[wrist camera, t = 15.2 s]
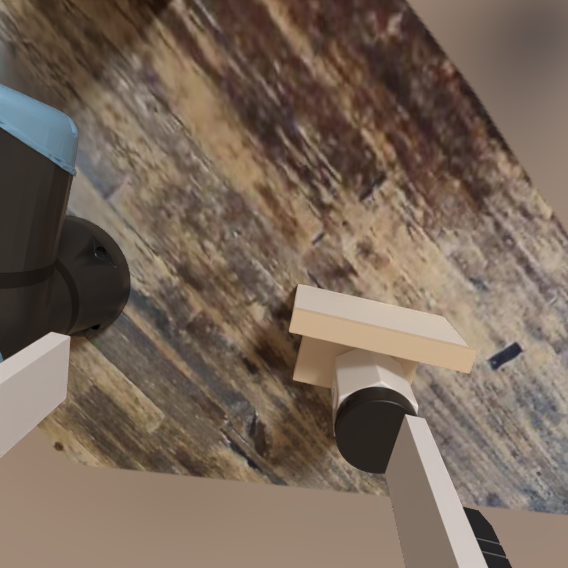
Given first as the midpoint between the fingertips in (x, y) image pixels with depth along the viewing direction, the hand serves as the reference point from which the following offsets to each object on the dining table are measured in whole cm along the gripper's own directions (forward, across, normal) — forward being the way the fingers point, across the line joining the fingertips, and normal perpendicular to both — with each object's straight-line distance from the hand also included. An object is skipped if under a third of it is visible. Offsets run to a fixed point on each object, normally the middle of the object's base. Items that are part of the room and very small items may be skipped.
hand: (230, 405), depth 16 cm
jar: (+32, +12, -13) cm, 37 cm away
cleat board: (+35, +11, -10) cm, 38 cm away
